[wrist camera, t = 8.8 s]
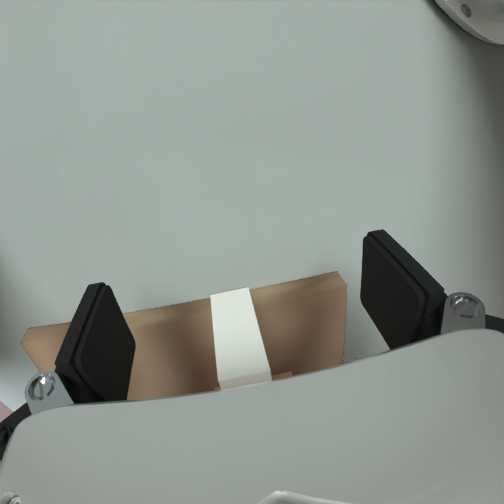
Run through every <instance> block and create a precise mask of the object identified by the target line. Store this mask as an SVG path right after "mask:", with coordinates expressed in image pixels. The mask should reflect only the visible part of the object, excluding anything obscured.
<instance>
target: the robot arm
mask: <svg viewBox="0 0 504 504" xmlns="http://www.w3.org/2000/svg"><path fill="white" fill-rule="evenodd" d="M434 1H435V2H436V3H437V4H438V5H439V6H440V7H441V8H442V9H443V10H444V11H445V13H446V14H447V15H448V16H449V17H450V18H451V19H452V20H454V21H455V22H456V23H457V24H458V25H459V26H461V27H462V28H463V29H464V30H465V31H467V32H469V33H470V34H472V35H473V36H475V37H476V38H478V39H480V40H483V41H485V42H487V43H492V44H497V45H504V0H434ZM360 298H361V302H362V305H363V306H364V308H365V309H366V311H367V313H368V314H369V316H370V317H371V319H372V320H373V322H374V324H375V325H376V327H377V328H378V330H379V332H380V333H381V335H382V336H383V338H384V340H385V341H386V343H387V345H388V346H389V348H390V350H389V351H385V352H382V353H378V354H375V355H372V356H368V357H365V358H362V359H358V360H354V361H351V362H347V363H344V364H340V365H336V366H332V367H328V368H324V369H320V370H316V371H312V372H308V373H303V374H299V375H294V376H290V377H285V378H281V379H276V380H271V381H266V382H261V383H256V384H250V385H245V386H239V387H233V388H227V389H221V390H214V391H207V392H200V393H193V394H185V395H177V396H168V397H159V398H148V399H136V400H127V396H128V389H129V383H130V377H131V371H132V366H133V360H134V355H135V349H136V343H135V339H134V337H133V335H132V333H131V331H130V329H129V327H128V325H127V322H126V320H125V318H124V316H123V314H122V312H121V310H120V307H119V305H118V303H117V301H116V298H115V296H114V294H113V292H112V289H111V287H110V286H109V285H105V283H103V282H101V283H96V284H90V285H88V287H87V289H86V291H85V293H84V295H83V297H82V300H81V302H80V304H79V306H78V308H77V310H76V313H75V315H74V317H73V319H72V322H71V324H70V326H69V328H68V331H67V333H66V335H65V338H64V340H63V343H62V345H61V347H60V350H59V352H58V355H57V357H56V360H55V363H54V364H55V366H56V368H55V371H54V372H53V371H43V372H40V373H38V374H36V375H35V376H34V377H33V378H32V379H31V380H30V381H29V382H28V384H27V386H26V389H25V398H26V401H27V402H26V403H25V404H24V405H22V406H21V407H20V408H19V409H17V410H16V411H15V412H13V413H12V414H11V415H10V416H8V417H7V418H6V419H4V420H3V421H2V422H1V423H0V504H504V319H501V318H497V317H494V316H490V315H486V314H485V307H484V305H483V303H482V301H481V300H479V299H478V298H477V297H475V296H474V295H472V294H468V293H463V292H458V293H453V294H451V295H449V296H447V295H446V294H445V293H444V288H443V287H442V286H441V285H440V284H439V283H438V282H437V281H436V280H435V279H434V278H433V277H432V276H431V275H430V274H429V273H428V272H427V271H426V270H425V269H424V268H423V267H422V266H421V265H420V264H419V263H418V262H417V261H416V260H415V259H414V258H413V257H412V256H411V255H410V254H409V253H408V252H407V251H406V250H405V249H404V248H403V247H402V246H401V245H400V244H398V243H397V242H396V241H395V240H394V239H393V238H392V237H391V236H390V235H389V234H388V233H387V232H386V231H385V230H383V229H382V230H376V231H371V232H368V234H367V236H366V237H364V239H363V257H362V277H361V292H360Z"/></svg>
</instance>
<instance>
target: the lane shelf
mask: <svg viewBox="0 0 504 504" xmlns="http://www.w3.org/2000/svg"><path fill="white" fill-rule="evenodd" d="M249 292H250V295H251V299H252V303H253V307H254V311H255V315H256V318H257V322H258V326H259V330H260V334H261V337H262V341H263V345H264V349H265V352H266V356H267V360H268V364H269V367H270V371H271V376H273V375H277V374H281V373H285V372H289V371H291V373H292V376H294V375H299V374H303V373H308V372H312V371H316V370H320V369H324V368H328V367H332V366H336V365H340V364H343V355H344V340H345V322H346V297H347V285H346V283H345V282H344V280H343V279H342V278H341V276H340V275H339V273H338V272H337V271H335V272H331V273H326V274H322V275H318V276H313V277H309V278H304V279H300V280H295V281H290V282H286V283H281V284H277V285H272V286H267V287H262V288H257V289H253V290H249ZM123 316H124V318H125V320H126V322H127V325H128V327H129V329H130V331H131V333H132V335H133V337H134V339H135V343H136V349H135V355H134V360H133V366H132V371H131V377H130V383H129V389H128V396H127V400H136V399H148V398H159V397H168V396H177V395H185V394H193V393H200V392H207V391H214V387H220V385H219V382H218V375H217V365H216V355H215V344H214V333H213V322H212V310H211V298H208V299H202V300H197V301H192V302H187V303H181V304H176V305H170V306H165V307H159V308H154V309H148V310H143V311H137V312H131V313H125V314H123ZM70 324H71V322H69V323H63V324H56V325H49V326H42V327H35V328H28V330H27V332H26V333H25V335H24V337H23V339H22V341H21V345H22V347H23V348H24V350H25V351H26V353H27V354H28V356H29V357H30V358H31V360H32V361H33V363H34V364H35V366H36V367H37V368H38V370H39V371H40V372H43V371H53V372H54V371H55V368H56V366H55V364H54V363H55V360H56V357H57V355H58V352H59V350H60V347H61V345H62V343H63V340H64V338H65V335H66V333H67V331H68V328H69V326H70Z"/></svg>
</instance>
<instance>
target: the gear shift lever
mask: <svg viewBox="0 0 504 504" xmlns="http://www.w3.org/2000/svg"><path fill="white" fill-rule="evenodd" d="M210 297H211V310H212V322H213V333H214V344H215V355H216V365H217V375H218V382H219V385H220V387H214V390H221V389H227V388H233V387H239V386H245V385H250V384H256V383H261V382H266V381H271V380H276V379H281V378H285V377H290V376H292V373H291V371H289V372H285V373H281V374H277V375H273V376H271V371H270V367H269V364H268V360H267V356H266V352H265V349H264V345H263V341H262V337H261V334H260V330H259V326H258V322H257V318H256V315H255V311H254V307H253V303H252V299H251V295H250V292H249V288H248V287H247V288H242V289H238V290H233V291H228V292H224V293H219V294H214V295H210Z"/></svg>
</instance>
